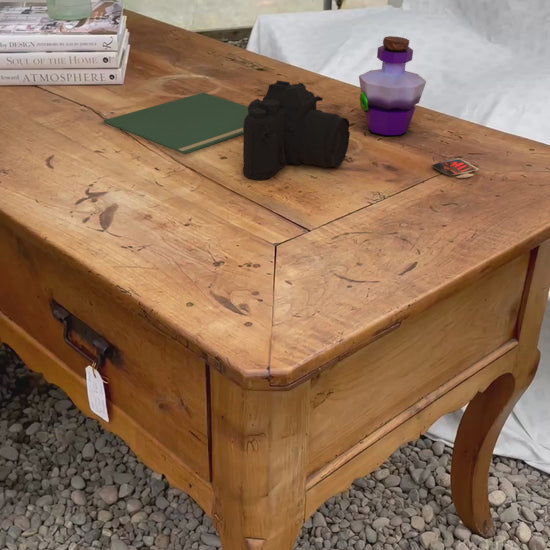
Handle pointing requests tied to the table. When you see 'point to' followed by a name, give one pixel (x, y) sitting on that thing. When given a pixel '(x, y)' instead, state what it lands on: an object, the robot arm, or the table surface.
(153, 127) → the book
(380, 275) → the table surface
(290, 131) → the film camera
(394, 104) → the potion bottle
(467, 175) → the matchbox
